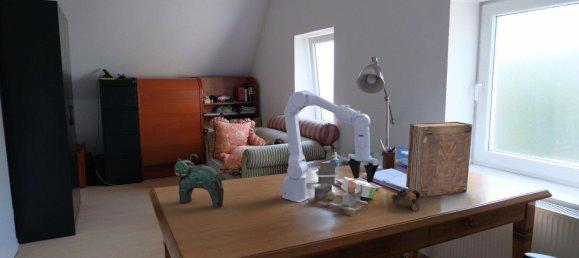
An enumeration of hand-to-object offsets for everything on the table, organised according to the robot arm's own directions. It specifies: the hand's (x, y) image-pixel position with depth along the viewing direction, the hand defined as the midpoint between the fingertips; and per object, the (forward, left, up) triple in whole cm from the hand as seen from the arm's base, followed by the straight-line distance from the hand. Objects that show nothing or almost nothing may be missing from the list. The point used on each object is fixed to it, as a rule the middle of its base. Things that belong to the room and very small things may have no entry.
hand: (363, 180), depth 147 cm
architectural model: (-28, +16, -11) cm, 34 cm away
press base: (-8, -6, -10) cm, 14 cm away
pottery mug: (+14, +11, -11) cm, 21 cm away
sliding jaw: (-2, -6, -9) cm, 11 cm away
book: (+15, +38, -11) cm, 43 cm away
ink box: (-3, +13, -8) cm, 16 cm away
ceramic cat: (-49, -40, -11) cm, 64 cm away
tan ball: (-11, -6, -7) cm, 14 cm away
